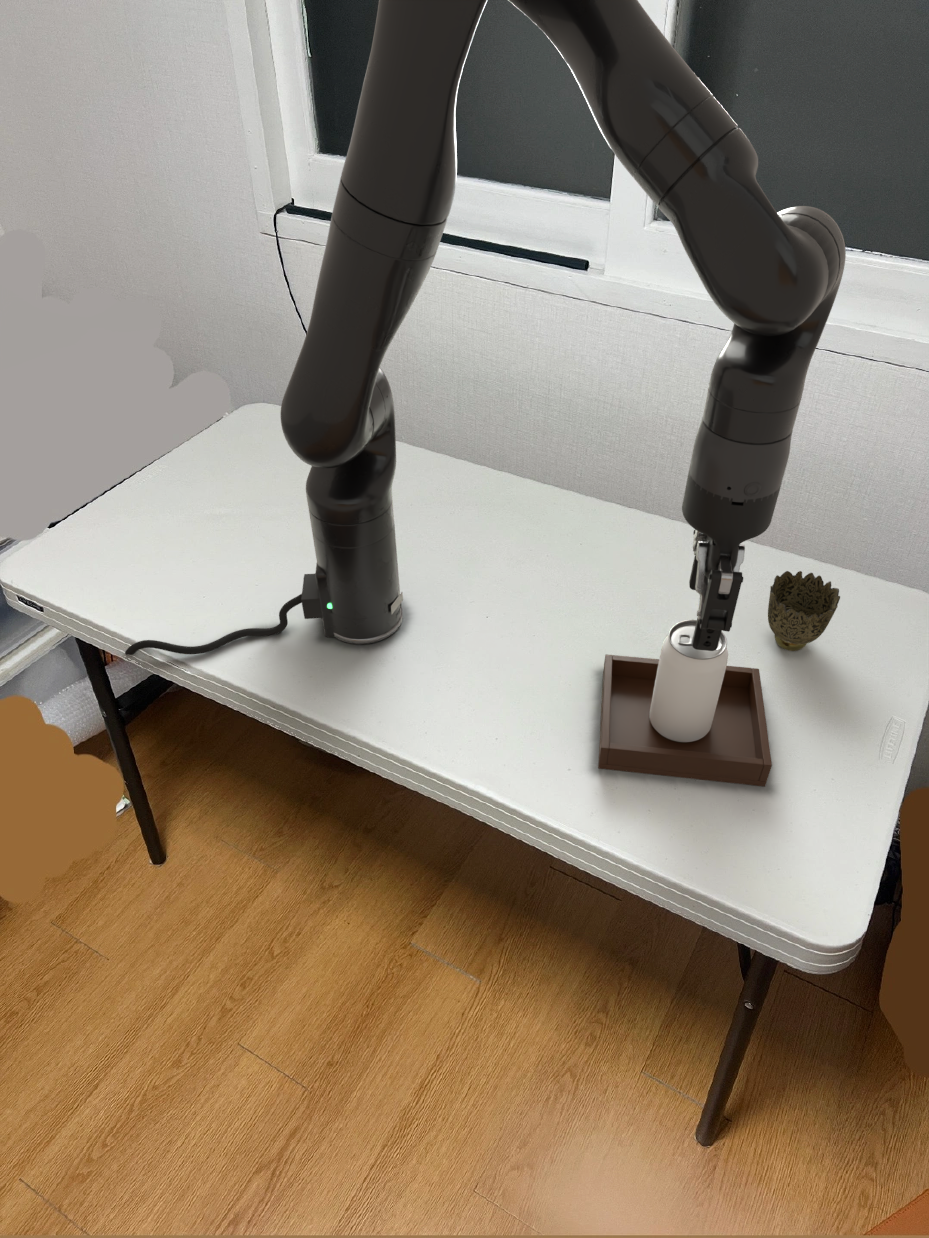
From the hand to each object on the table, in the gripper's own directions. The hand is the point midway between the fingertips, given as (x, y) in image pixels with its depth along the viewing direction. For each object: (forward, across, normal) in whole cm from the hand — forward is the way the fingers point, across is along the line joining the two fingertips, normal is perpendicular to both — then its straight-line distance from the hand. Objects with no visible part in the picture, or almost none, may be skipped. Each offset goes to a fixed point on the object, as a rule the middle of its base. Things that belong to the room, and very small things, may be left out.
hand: (701, 617), depth 85 cm
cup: (+16, -15, +13) cm, 26 cm away
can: (+15, 0, 0) cm, 15 cm away
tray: (+16, 0, 0) cm, 16 cm away
